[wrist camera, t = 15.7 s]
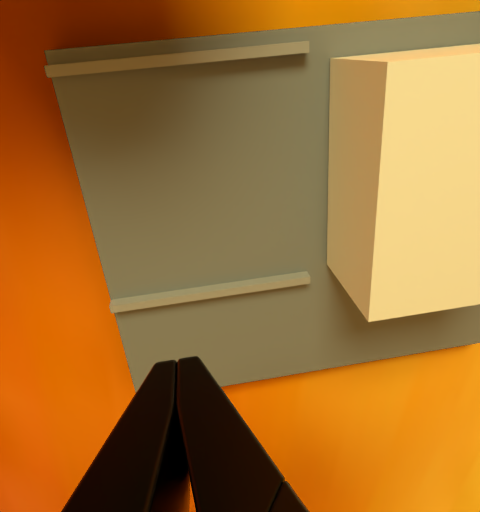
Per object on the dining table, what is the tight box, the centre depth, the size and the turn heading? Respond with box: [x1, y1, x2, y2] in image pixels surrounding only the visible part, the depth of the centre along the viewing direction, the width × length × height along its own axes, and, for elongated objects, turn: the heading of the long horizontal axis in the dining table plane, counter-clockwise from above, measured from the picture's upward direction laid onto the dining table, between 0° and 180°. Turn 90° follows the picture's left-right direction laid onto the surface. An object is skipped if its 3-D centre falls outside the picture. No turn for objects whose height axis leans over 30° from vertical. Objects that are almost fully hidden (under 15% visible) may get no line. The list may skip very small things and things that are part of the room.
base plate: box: [44, 11, 480, 392], centre depth 20 cm, size 21×18×3 cm
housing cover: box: [327, 44, 480, 322], centre depth 17 cm, size 7×10×5 cm
